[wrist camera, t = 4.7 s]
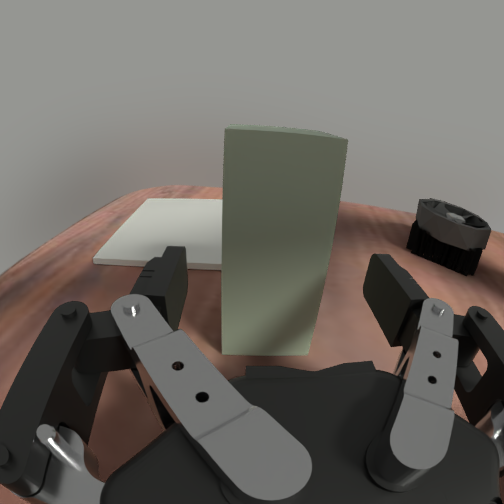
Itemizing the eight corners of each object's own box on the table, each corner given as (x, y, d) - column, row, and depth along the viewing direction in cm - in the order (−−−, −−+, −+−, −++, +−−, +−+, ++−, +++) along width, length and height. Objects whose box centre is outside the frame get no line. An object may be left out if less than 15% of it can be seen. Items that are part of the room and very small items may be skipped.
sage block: (295, 305, 21) (319, 130, 15) (307, 355, 16) (348, 139, 11) (225, 303, 21) (230, 124, 15) (222, 354, 16) (224, 128, 11)
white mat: (274, 205, 41) (274, 201, 41) (293, 272, 25) (294, 266, 25) (148, 202, 40) (148, 198, 40) (93, 263, 24) (92, 257, 24)
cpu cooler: (493, 236, 22) (410, 204, 28) (475, 284, 24) (398, 252, 30) (489, 216, 29) (425, 192, 35) (477, 255, 31) (416, 230, 37)
